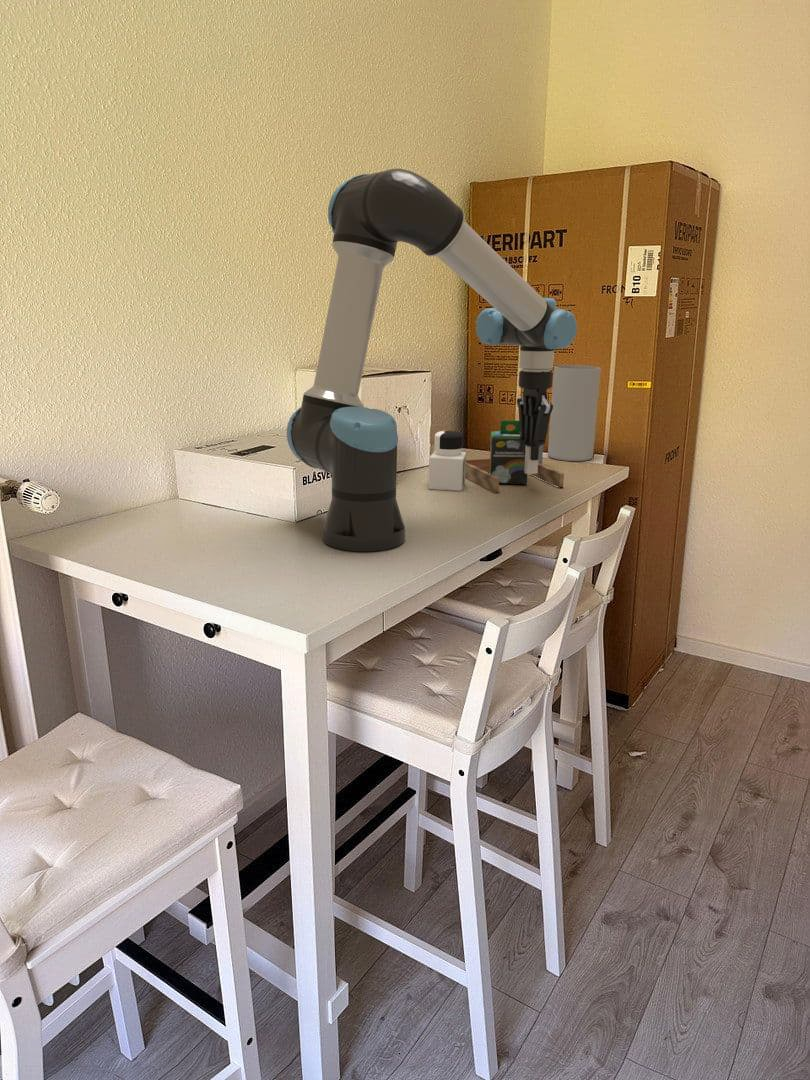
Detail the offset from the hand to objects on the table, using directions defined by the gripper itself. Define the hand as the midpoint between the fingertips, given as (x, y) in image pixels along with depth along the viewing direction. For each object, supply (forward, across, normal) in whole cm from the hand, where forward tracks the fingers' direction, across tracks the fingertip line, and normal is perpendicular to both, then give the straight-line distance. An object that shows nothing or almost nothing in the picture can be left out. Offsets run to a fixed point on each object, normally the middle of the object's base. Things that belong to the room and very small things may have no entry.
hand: (530, 473), depth 181 cm
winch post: (+4, +22, -13) cm, 26 cm away
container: (+4, +8, +18) cm, 20 cm away
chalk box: (+4, +9, +1) cm, 10 cm away
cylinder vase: (+4, +31, -29) cm, 43 cm away
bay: (+4, +9, +1) cm, 10 cm away
